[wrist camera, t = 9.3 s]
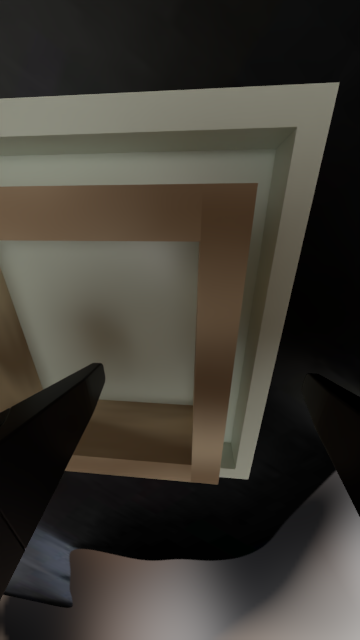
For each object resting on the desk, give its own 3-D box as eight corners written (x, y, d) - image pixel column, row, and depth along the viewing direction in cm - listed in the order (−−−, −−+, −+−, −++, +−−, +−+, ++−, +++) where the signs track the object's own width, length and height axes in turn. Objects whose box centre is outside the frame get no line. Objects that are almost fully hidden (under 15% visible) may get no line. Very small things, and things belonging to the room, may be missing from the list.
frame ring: (212, 421, 15) (218, 484, 11) (32, 409, 16) (-18, 463, 12) (233, 202, 9) (258, 182, 6) (-50, 204, 10) (-188, 189, 6)
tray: (241, 444, 16) (248, 479, 14) (10, 427, 18) (-17, 456, 16) (300, 123, 8) (339, 82, 6) (-129, 138, 10) (-228, 109, 7)
